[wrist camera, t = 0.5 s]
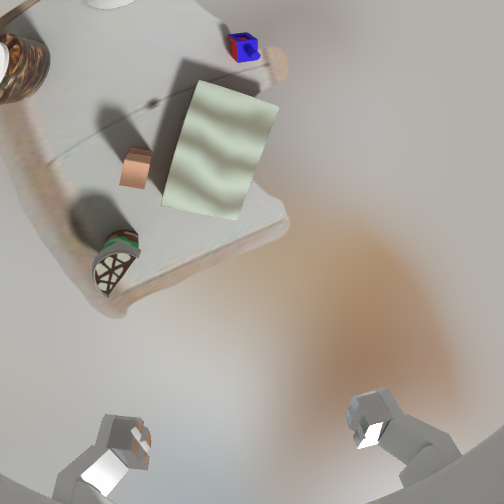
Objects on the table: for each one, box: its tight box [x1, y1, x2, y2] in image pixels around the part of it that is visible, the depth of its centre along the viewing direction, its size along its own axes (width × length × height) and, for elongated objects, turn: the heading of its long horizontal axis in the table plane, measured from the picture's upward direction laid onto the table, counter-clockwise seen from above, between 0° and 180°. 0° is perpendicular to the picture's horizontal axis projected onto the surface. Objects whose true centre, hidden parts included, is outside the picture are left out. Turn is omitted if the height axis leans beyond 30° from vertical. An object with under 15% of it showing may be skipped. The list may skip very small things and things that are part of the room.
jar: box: [0, 34, 50, 105], centre depth 21 cm, size 12×12×15 cm
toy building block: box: [228, 32, 260, 63], centre depth 37 cm, size 4×4×8 cm
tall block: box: [119, 147, 152, 189], centre depth 41 cm, size 4×4×10 cm
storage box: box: [161, 80, 279, 221], centre depth 47 cm, size 23×15×5 cm, turn 159°
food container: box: [92, 230, 141, 299], centre depth 48 cm, size 12×6×10 cm, turn 133°
